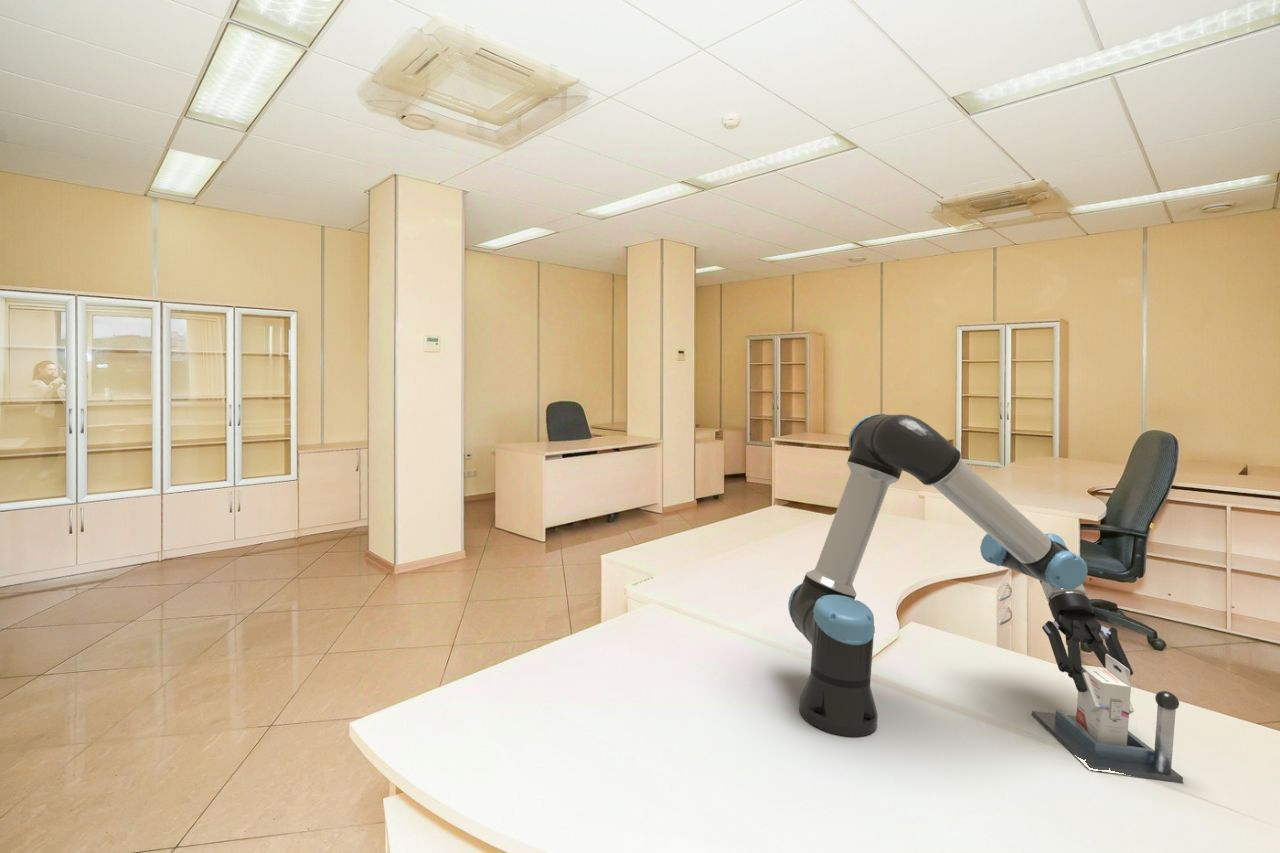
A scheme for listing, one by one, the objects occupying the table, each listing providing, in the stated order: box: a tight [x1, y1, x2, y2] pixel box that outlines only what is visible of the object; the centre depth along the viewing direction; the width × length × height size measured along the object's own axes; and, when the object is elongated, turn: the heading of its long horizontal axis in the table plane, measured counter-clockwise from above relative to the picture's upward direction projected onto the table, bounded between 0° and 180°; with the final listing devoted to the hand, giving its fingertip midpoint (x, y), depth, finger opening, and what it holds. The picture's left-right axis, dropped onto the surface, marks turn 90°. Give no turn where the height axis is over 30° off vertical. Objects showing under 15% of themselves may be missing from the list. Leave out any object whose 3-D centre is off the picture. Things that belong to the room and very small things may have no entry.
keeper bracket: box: [1031, 690, 1184, 784], centre depth 113 cm, size 15×20×15 cm
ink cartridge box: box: [1075, 654, 1132, 746], centre depth 113 cm, size 9×5×15 cm, turn 169°
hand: (1111, 711), depth 110 cm, fingers closed on ink cartridge box, 5 cm apart
